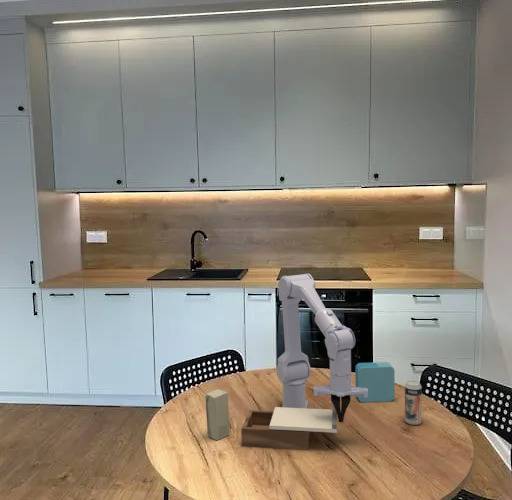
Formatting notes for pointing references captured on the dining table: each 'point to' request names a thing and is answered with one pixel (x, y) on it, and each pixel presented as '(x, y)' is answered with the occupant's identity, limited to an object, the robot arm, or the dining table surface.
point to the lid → (304, 419)
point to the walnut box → (271, 433)
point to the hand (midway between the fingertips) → (340, 420)
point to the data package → (376, 381)
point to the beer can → (413, 402)
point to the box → (217, 414)
